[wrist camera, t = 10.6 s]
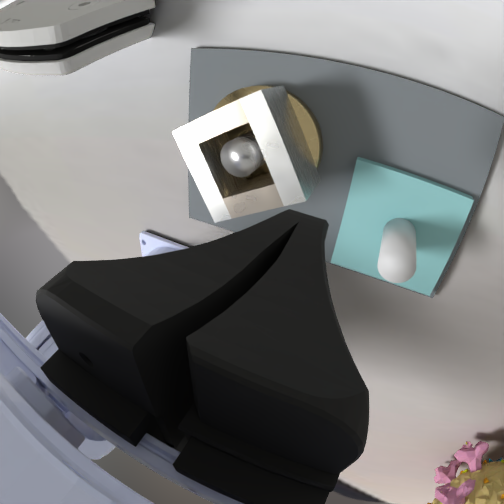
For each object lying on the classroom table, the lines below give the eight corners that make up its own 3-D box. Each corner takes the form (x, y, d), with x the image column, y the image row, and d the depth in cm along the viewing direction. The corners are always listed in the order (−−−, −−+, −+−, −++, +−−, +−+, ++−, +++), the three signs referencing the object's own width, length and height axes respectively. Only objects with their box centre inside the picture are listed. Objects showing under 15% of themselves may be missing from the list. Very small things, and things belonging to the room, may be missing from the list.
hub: (312, 208, 19) (294, 236, 17) (212, 181, 21) (181, 202, 19) (331, 96, 15) (316, 103, 13) (217, 79, 17) (181, 85, 15)
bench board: (432, 294, 19) (432, 298, 19) (192, 215, 24) (189, 217, 24) (502, 116, 12) (505, 117, 11) (194, 48, 17) (191, 48, 17)
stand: (429, 290, 19) (429, 333, 16) (332, 257, 21) (316, 295, 18) (471, 196, 14) (486, 229, 11) (357, 156, 16) (346, 179, 13)
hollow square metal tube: (321, 180, 17) (306, 201, 15) (238, 201, 20) (214, 222, 18) (283, 85, 15) (260, 89, 13) (202, 120, 18) (172, 132, 16)
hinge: (172, -26, 14) (38, 23, 9) (169, 31, 18) (54, 95, 13) (50, -25, 16) (-39, 20, 11) (53, 12, 20) (-28, 60, 15)
